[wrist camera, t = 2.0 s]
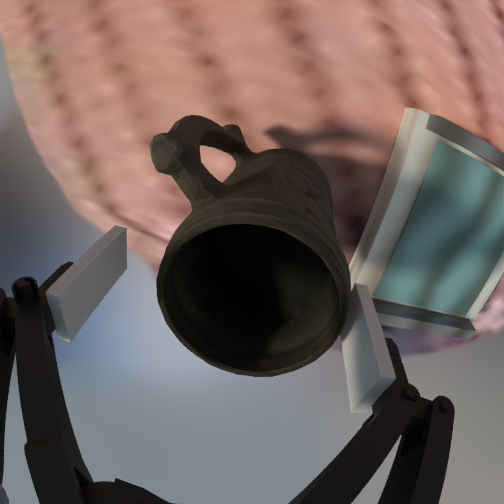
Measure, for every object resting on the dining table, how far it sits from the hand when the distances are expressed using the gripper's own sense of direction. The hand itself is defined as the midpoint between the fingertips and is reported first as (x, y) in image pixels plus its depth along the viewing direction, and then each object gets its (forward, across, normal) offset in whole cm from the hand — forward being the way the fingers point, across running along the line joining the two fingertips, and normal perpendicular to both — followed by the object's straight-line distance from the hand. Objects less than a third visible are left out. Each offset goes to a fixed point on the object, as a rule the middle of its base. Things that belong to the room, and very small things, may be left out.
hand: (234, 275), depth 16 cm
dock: (+17, +22, +2) cm, 28 cm away
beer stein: (+17, 0, +1) cm, 17 cm away
